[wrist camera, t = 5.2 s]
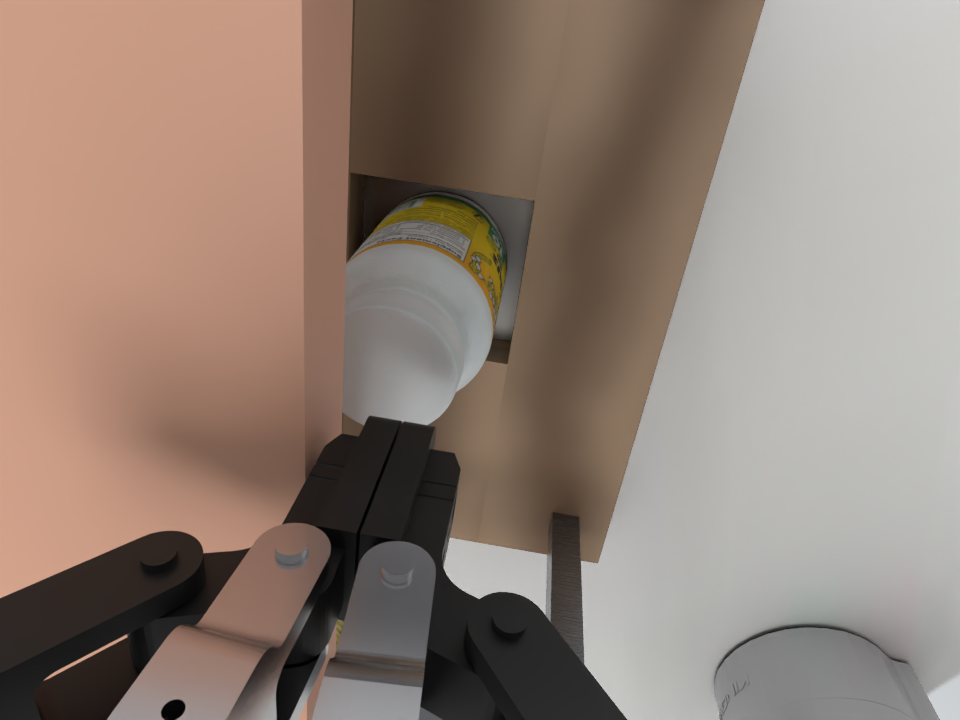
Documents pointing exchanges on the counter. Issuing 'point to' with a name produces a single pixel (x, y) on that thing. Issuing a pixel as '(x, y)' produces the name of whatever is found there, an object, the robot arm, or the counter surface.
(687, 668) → the counter surface
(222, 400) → the sliding cover
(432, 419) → the supplement bottle
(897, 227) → the counter surface
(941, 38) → the counter surface
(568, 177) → the well board
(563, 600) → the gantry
